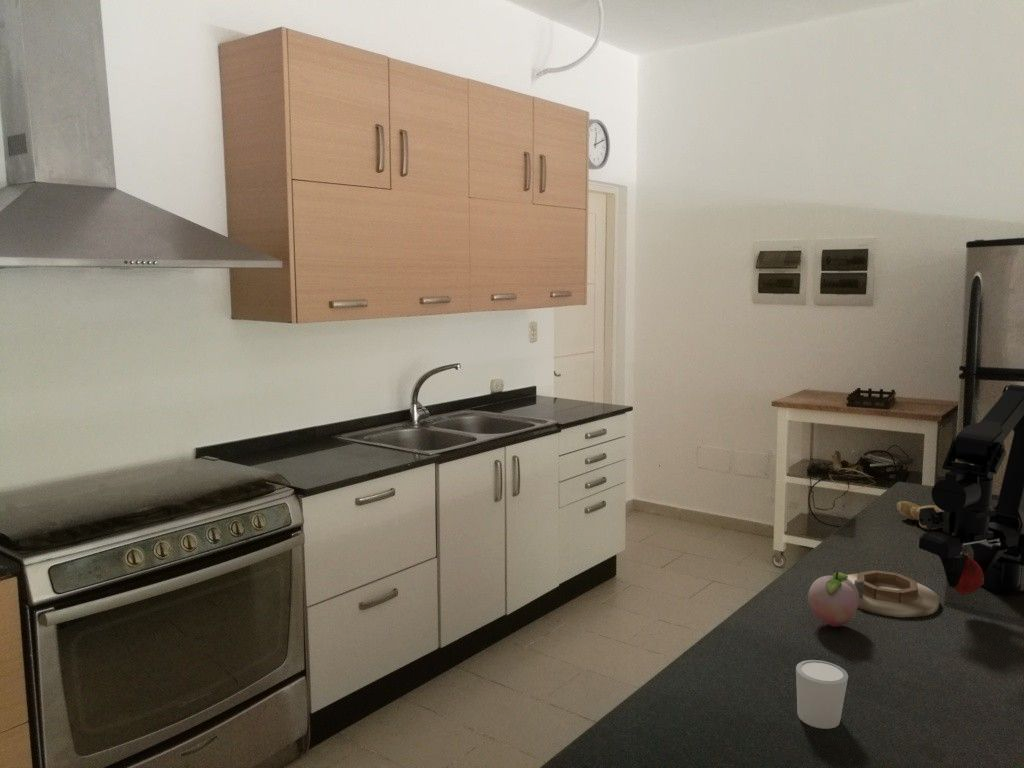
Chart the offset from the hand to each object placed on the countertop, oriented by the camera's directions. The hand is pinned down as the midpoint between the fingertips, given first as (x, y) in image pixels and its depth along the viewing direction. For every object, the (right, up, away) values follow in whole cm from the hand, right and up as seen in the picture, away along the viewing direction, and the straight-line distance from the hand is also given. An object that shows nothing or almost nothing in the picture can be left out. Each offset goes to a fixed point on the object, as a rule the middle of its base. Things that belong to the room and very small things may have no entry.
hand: (964, 584), depth 151 cm
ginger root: (+21, +2, +49) cm, 53 cm away
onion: (0, -2, 0) cm, 2 cm away
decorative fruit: (-26, -6, -6) cm, 28 cm away
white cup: (-39, -11, -35) cm, 53 cm away
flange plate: (-11, -4, +7) cm, 14 cm away
